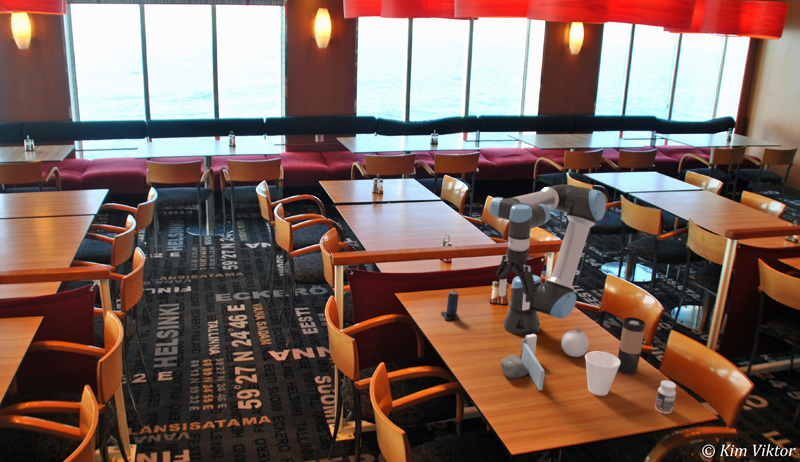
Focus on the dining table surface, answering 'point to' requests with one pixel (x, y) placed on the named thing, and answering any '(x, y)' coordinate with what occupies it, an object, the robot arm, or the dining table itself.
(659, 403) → the pill bottle
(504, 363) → the stone
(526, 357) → the door
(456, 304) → the blue column with base
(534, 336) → the tilted pink plank
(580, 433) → the dining table surface
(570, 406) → the dining table surface
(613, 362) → the cup
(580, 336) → the ornament
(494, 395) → the dining table surface
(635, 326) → the travel mug
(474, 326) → the dining table surface
